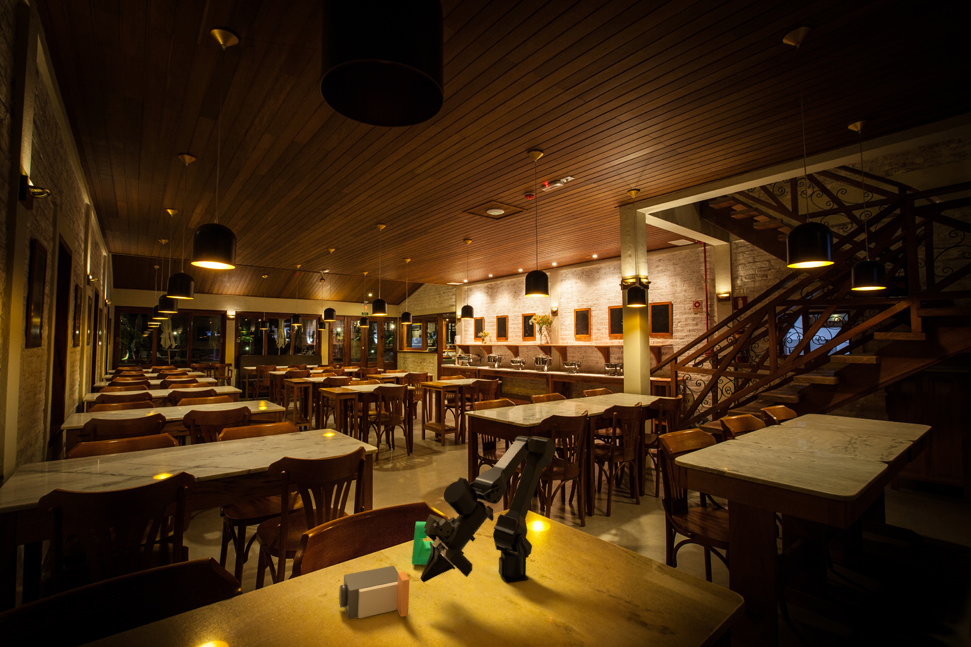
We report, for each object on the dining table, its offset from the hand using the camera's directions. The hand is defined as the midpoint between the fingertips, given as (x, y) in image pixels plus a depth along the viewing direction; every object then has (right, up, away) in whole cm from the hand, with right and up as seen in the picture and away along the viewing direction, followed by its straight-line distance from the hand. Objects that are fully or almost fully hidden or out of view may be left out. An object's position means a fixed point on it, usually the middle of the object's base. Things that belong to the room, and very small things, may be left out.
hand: (421, 580), depth 99 cm
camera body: (-12, -7, +2) cm, 14 cm away
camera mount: (-2, -10, +27) cm, 28 cm away
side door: (-8, -6, -4) cm, 11 cm away
